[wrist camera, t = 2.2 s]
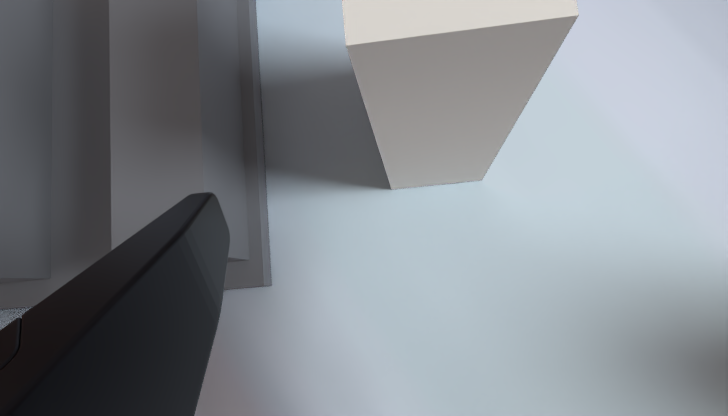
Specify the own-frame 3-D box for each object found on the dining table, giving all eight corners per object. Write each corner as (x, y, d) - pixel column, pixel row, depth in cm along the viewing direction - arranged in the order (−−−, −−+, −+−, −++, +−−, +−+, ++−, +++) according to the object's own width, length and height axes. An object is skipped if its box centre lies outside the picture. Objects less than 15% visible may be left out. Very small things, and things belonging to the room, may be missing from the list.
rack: (271, 285, 20) (223, 286, 15) (-12, 310, 21) (-141, 318, 16) (253, -42, 22) (206, -133, 18) (-4, -3, 24) (-116, -79, 19)
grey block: (481, 180, 20) (579, 15, 8) (391, 189, 20) (345, 45, 8) (467, 58, 21) (533, -270, 8) (380, 69, 21) (322, -231, 9)
